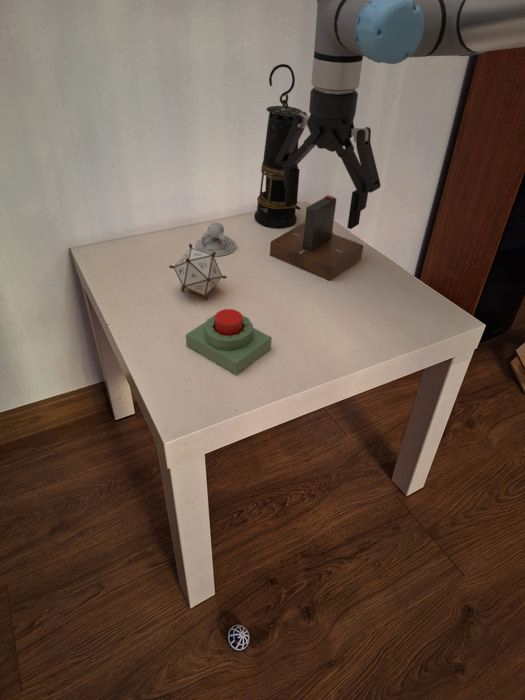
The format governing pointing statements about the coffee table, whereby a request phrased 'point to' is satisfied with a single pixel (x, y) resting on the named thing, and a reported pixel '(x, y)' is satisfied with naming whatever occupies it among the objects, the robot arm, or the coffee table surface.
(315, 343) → the coffee table surface
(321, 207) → the dark grey block
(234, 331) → the button
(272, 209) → the lantern
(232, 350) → the button block
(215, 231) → the miniature
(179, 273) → the game die
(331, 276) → the block
